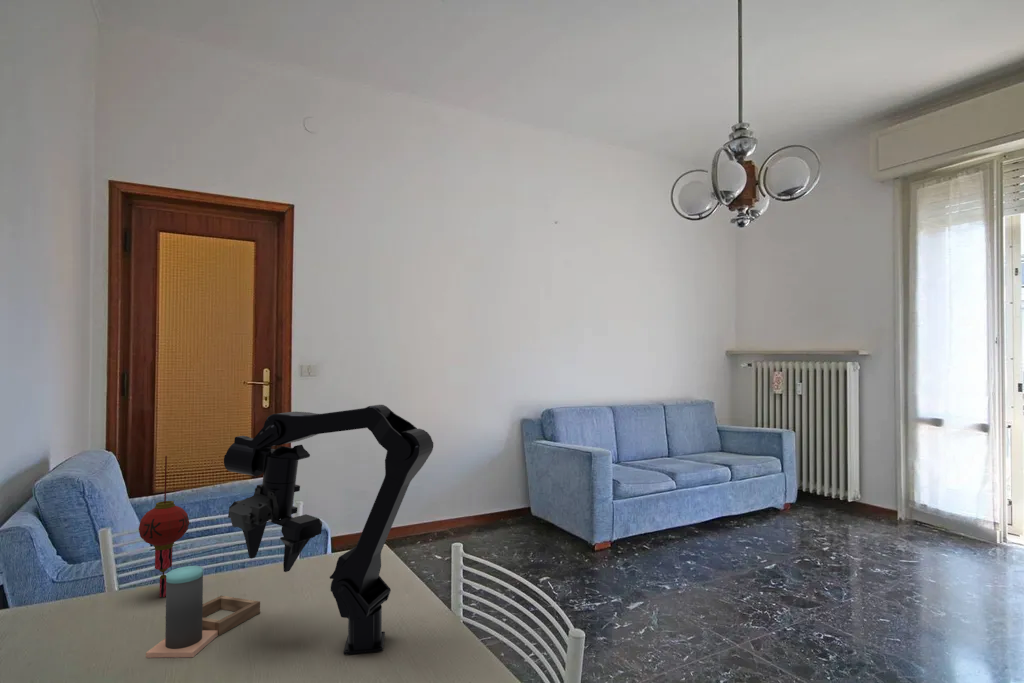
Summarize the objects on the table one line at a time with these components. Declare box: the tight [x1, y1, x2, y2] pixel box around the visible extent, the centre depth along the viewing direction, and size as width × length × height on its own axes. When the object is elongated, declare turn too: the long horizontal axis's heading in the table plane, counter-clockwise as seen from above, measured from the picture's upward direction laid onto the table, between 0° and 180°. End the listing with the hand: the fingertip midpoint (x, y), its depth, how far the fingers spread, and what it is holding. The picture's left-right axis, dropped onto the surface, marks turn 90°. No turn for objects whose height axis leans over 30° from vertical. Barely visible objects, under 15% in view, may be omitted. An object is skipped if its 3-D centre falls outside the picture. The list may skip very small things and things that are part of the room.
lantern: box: [138, 455, 190, 598], centre depth 120 cm, size 10×10×30 cm
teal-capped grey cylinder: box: [164, 565, 204, 649], centre depth 98 cm, size 6×6×12 cm
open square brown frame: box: [202, 595, 261, 636], centre depth 108 cm, size 10×10×2 cm
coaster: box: [145, 630, 219, 659], centre depth 98 cm, size 8×8×1 cm
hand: (269, 564), depth 103 cm, fingers open, 9 cm apart
